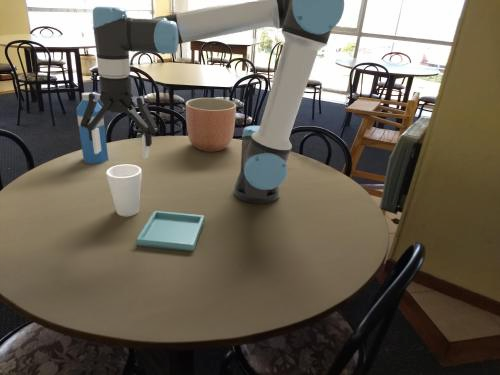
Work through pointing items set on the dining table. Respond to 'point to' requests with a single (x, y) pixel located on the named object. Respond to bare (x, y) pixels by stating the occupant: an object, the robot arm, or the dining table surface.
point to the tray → (171, 231)
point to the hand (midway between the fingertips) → (122, 154)
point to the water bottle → (84, 134)
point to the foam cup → (125, 188)
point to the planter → (210, 123)
